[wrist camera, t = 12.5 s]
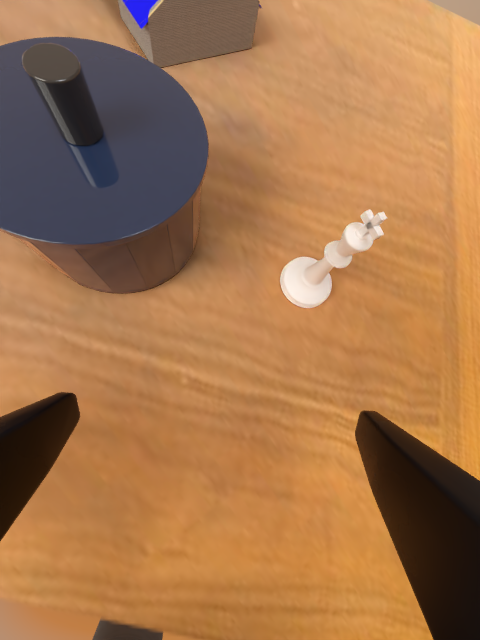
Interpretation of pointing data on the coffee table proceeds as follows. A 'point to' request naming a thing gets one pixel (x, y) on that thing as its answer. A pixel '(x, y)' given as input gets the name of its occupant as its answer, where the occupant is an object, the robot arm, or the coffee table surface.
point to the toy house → (189, 27)
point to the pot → (130, 257)
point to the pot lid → (93, 144)
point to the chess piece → (328, 262)
